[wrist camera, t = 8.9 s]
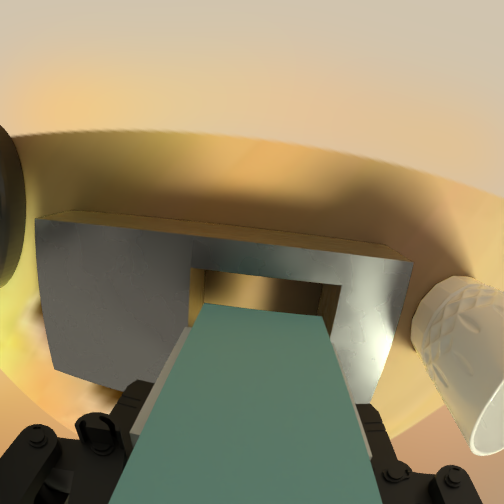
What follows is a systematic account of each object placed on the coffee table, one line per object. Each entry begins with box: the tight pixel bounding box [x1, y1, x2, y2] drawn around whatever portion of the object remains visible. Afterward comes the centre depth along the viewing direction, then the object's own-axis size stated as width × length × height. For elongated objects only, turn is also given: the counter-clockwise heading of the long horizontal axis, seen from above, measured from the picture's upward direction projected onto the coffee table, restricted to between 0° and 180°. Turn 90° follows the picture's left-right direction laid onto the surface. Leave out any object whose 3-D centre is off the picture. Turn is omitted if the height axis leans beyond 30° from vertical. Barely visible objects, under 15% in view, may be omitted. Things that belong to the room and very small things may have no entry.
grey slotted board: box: [35, 210, 414, 404], centre depth 17 cm, size 20×10×4 cm, turn 84°
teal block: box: [108, 303, 382, 504], centre depth 9 cm, size 5×5×10 cm
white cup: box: [411, 276, 504, 456], centre depth 13 cm, size 8×8×10 cm
